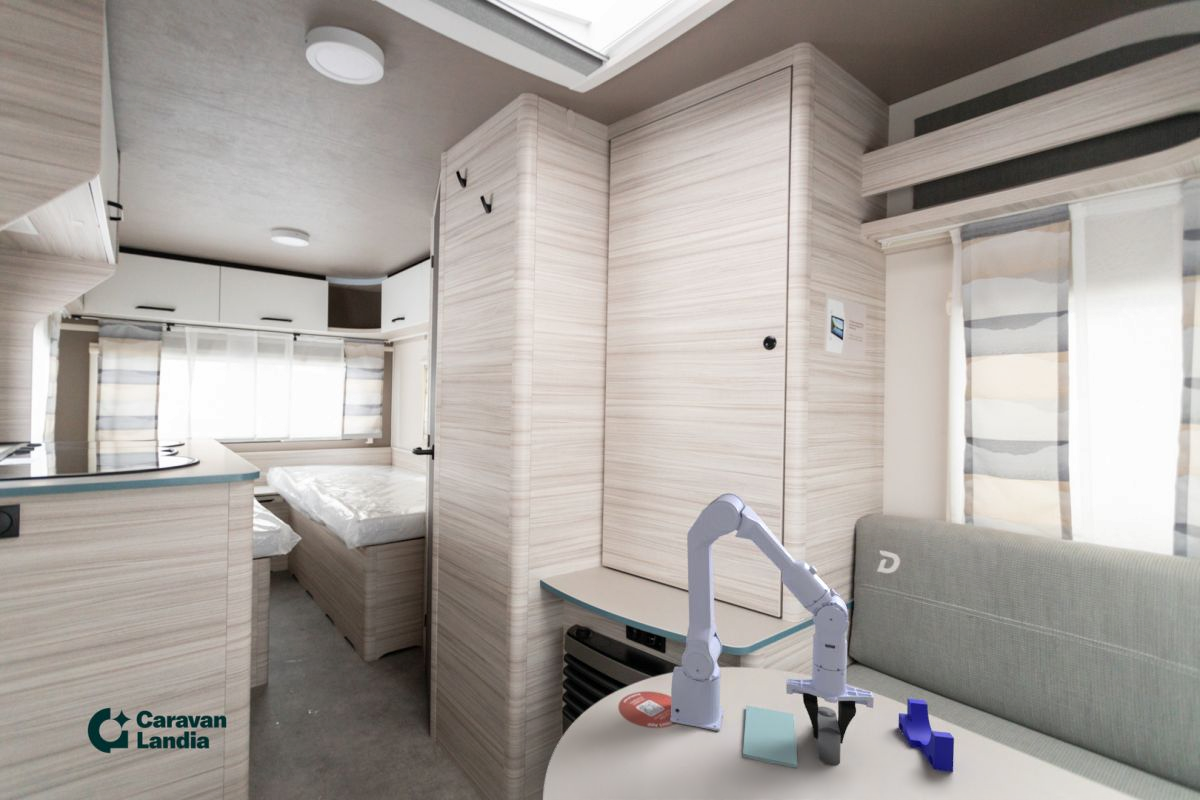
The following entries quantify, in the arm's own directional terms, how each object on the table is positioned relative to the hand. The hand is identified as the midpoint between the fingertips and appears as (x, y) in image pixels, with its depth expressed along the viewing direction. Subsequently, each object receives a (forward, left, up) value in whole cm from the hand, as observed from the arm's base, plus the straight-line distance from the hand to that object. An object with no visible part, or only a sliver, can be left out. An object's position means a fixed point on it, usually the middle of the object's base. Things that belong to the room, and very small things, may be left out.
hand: (827, 737), depth 100 cm
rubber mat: (-10, 0, -2) cm, 10 cm away
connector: (0, 0, -2) cm, 2 cm away
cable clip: (+17, +5, -2) cm, 18 cm away
